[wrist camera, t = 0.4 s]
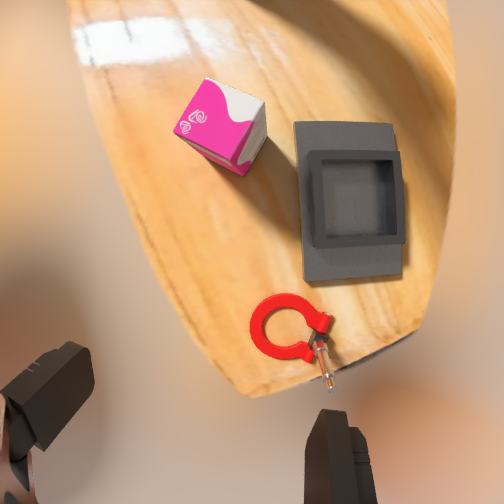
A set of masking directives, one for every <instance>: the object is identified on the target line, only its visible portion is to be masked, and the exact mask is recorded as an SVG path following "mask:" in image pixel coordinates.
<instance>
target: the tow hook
mask: <svg viewBox="0 0 504 504" xmlns="http://www.w3.org/2000/svg"><path fill="white" fill-rule="evenodd" d="M280 307H291V308H294V309H296V310H298V311H299V312H301V314H302V315H303V316H304V317H305V319H306V322H307V325H308V326H309V327H311V328H314V330H313V333H312V335H311V337H310V339H309V342H308V343H306V342H303V341H299V342H298V343H296V344H294V345H292V346H287V347H280V346H277V345H274V344H272V343H271V342H269V341H268V340H267V339H266V337H265V335H264V334H263V330H262V324H263V321H264V319H265V317H266V316H267V314H268V313H270V312H271V311H272V310H274V309H276V308H280ZM332 317H333V316H332V315H331V314H329V313H327V312H322V313H320V312H317V311H315V309H314V307H313V306H312V305H311V304H310V303H309V302H308V301H307V300H305V299H304V298H302V297H300V296H297V295H294V294H287V293H281V294H276V295H272V296H270V297H268V298H266V299H264V300H263V301H262V302H261V303H260V304H259V305H258V306H257V307H256V309H255V310H254V312H253V314H252V317H251V320H250V334H251V338H252V340H253V342H254V344H255V345H256V347H257V348H258V349H259V350H260V351H261V352H262V353H264V354H266V355H268V356H269V357H273V358H276V359H291V358H296V357H298V358H302V359H303V360H304V361H305V362H307V363H312V361H313V359H314V357H315V356H316V357H317V359H318V362H319V366H320V370H321V374H322V378H323V381H324V382H325V383H326V385H327V389H328V392H329V393H334V392H336V390H337V388H336V385H335V382H334V380H335V375H334V372H333V369H332V366H331V363H330V360H329V357H328V353H329V350H328V347H327V345H326V343H327V340H328V336H327V334H326V331H327V329H328V326H329V324H330V322H331V319H332Z"/></svg>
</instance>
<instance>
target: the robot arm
mask: <svg viewBox="0 0 504 504" xmlns="http://www.w3.org/2000/svg"><path fill="white" fill-rule="evenodd" d="M94 384H95V381H94V374H93V369H92V362H91V355H90V351H89V349H88V348H86V347H83V346H81V345H79V344H76V343H74V342H71V341H69V342H67V343H65V344H64V345H63V346H62V347H61V348H60V349H58V350H57V349H54V350H52V351H49V352H47V353H44V354H43V355H42V356H40V357H39V358H38V359H37V360H36V361H35V362H34V363H32V364H31V365H30V366H28V368H27V369H25V370H24V371H23V372H22V373H20V374H19V375H18V376H17V377H16V378H15V379H13V380H12V381H11V382H10V383H9V384H8V385H7V386H5V387H4V388H3V389H2V390H1V391H0V504H39V503H38V502H37V499H36V495H35V488H34V479H33V470H32V469H33V468H32V454H31V450H30V449H31V448H32V447H33V445H35V446H36V447H38V448H39V449H41V450H42V451H45V450H46V449H47V448H48V447H49V445H50V444H51V443H52V442H53V440H54V439H55V438H56V437H57V435H58V434H59V433H60V431H61V430H62V429H63V428H64V427H65V425H66V424H67V423H68V422H69V421H70V419H71V418H72V417H73V416H74V414H75V413H76V412H77V411H78V410H79V408H80V407H81V406H82V404H84V402H85V401H86V400H87V399H88V398H89V396H90V395H91V394H92V391H93V389H94ZM304 504H378V503H377V498H376V492H375V486H374V480H373V474H372V469H371V465H370V458H369V454H368V447H367V442H366V439H365V437H364V436H363V434H362V433H361V431H360V430H359V429H358V427H349V426H348V420H347V414H346V412H345V411H338V410H328V409H322V410H321V411H320V413H319V415H318V418H317V420H316V422H315V424H314V426H313V428H312V431H311V433H310V435H309V437H308V440H307V443H306V448H305V481H304Z"/></svg>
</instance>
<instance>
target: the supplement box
mask: <svg viewBox="0 0 504 504" xmlns="http://www.w3.org/2000/svg"><path fill="white" fill-rule="evenodd" d="M173 132H174V133H175V134H176V135H177V136H178V137H180V138H181V139H182V140H184V141H185V142H186V143H187V144H189V145H190V146H191V147H193V148H194V149H195V150H196V151H198V152H199V153H200V154H201V155H203V156H204V157H206V158H208V159H210V160H212V161H214V162H216V163H218V164H220V165H221V166H223V167H225V168H227V169H229V170H231V171H233V172H235V173H237V174H239V175H241V176H245V174H246V173H247V171H248V170H249V168H250V166H251V165H252V163H253V161H254V159H255V158H256V156H257V154H258V152H259V151H260V149H261V147H262V145H263V144H264V142H265V140H266V138H267V126H266V113H265V102H264V101H262V100H260V99H258V98H255V97H253V96H251V95H249V94H246V93H244V92H242V91H239V90H237V89H234V88H232V87H230V86H227V85H225V84H222V83H220V82H217V81H215V80H213V79H210V78H208V77H206V78H205V80H204V81H203V83H202V84H201V86H200V87H199V89H198V90H197V92H196V94H195V95H194V97H193V98H192V100H191V102H190V103H189V105H188V106H187V108H186V110H185V111H184V113H183V115H182V116H181V118H180V120H179V121H178V123H177V125H176V127H175V128H174V130H173Z"/></svg>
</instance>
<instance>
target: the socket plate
mask: <svg viewBox="0 0 504 504" xmlns="http://www.w3.org/2000/svg"><path fill="white" fill-rule="evenodd" d="M293 129H294V140H295V152H296V164H297V177H298V191H299V206H300V223H301V242H302V265H303V280H304V281H305V282H307V281H321V280H334V279H347V278H359V277H371V276H382V275H393V274H401V261H402V244H405V213H404V194H403V180H402V168H401V158H400V151H396V146H395V138H394V131H393V124H388V123H372V122H346V121H299V122H294V124H293Z"/></svg>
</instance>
